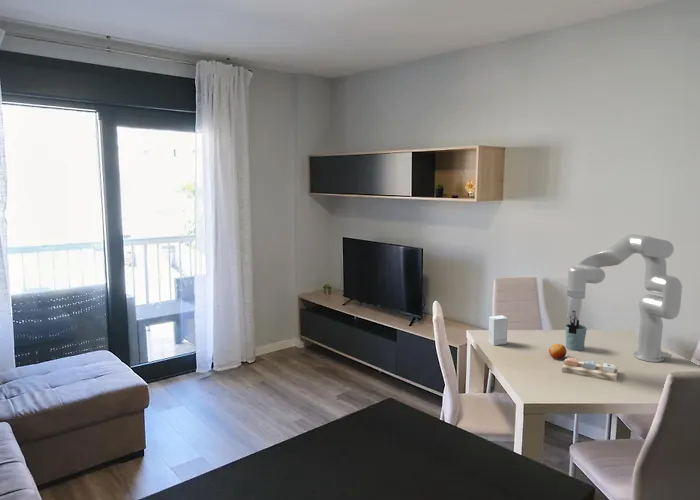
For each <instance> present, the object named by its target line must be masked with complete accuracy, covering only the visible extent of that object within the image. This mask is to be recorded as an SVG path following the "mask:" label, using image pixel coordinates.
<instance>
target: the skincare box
mask: <svg viewBox="0 0 700 500" xmlns="http://www.w3.org/2000/svg"><path fill="white" fill-rule="evenodd" d="M508 322H509V321H508V317H506V316H505V315H502V314H500V315H493V316H488V343H490V344H491V345H492V346H499V345H500V346H501V345H507V344H508Z"/></svg>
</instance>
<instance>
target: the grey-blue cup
mask: <svg viewBox="0 0 700 500" xmlns="http://www.w3.org/2000/svg"><path fill="white" fill-rule="evenodd" d="M587 329H588V327H587V326H586V325H584V324H581V323H579V328H578V329H577V331H576V334H572V333H569V323H567V324H565V348H566V350H570V351H575V352H582V351H584V349H585V340H586V336H587Z"/></svg>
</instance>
